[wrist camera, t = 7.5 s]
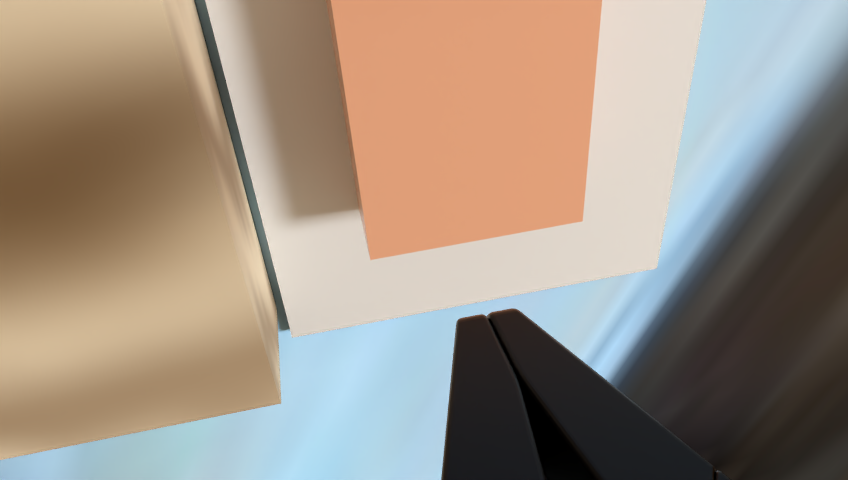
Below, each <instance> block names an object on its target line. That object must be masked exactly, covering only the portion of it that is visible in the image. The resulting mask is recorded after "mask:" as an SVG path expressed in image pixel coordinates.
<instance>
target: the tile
mask: <svg viewBox="0 0 848 480" xmlns="http://www.w3.org/2000/svg"><path fill="white" fill-rule="evenodd" d="M326 3H327V10H328V16H329V23H330V29H331V35H332V42H333V48H334V54H335V61H336V67H337V74H338V80H339V86H340V93H341V99H342V106H343V112H344V118H345V125H346V131H347V138H348V144H349V150H350V157H351V163H352V170H353V176H354V182H355V189H356V195H357V202H358V208H359V213H360V217H361V221H362V226H363V230H364V235H365V239H366V243H367V248H368V252H369V256H370V260H374V259H379V258H385V257H390V256H396V255H401V254H407V253H412V252H418V251H423V250H429V249H434V248H440V247H445V246H451V245H456V244H461V243H467V242H472V241H478V240H483V239H489V238H494V237H500V236H505V235H511V234H516V233H522V232H527V231H533V230H538V229H543V228H549V227H554V226H560V225H565V224H571V223H576V222H582V221H583V212H584V201H585V190H586V178H587V167H588V156H589V144H590V133H591V122H592V110H593V99H594V88H595V76H596V65H597V54H598V42H599V31H600V20H601V8H602V0H326Z"/></svg>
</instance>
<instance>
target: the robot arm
mask: <svg viewBox="0 0 848 480" xmlns="http://www.w3.org/2000/svg"><path fill="white" fill-rule="evenodd" d="M441 480H731V479H730V478H729V477H727V476H726V475H725V474H724V473H722V472H721V471H716V472H715V467H714V466H713V465H712V464H711V463H709V462H708V461H707V460H706V459H704V458H703V457H702V456H701V455H699V454H698V453H697V452H696V451H694V450H693V449H692V448H691V447H689V446H688V445H687V444H686V443H684V442H683V441H682V440H681V439H679V438H678V437H677V436H676V435H674V434H673V433H672V432H671V431H669V430H668V429H667V428H666V427H664V426H663V425H662V424H661V423H659V422H658V421H657V420H656V419H654V418H653V417H652V416H651V415H649V414H648V413H647V412H646V411H644V410H643V409H642V408H641V407H639V406H638V405H637V404H636V403H634V402H633V401H632V400H631V399H629V398H628V397H627V396H626V395H624V394H623V393H622V392H621V391H619V390H618V389H617V388H616V387H614V386H613V385H612V384H611V383H609V382H608V381H607V380H606V379H604V378H603V377H602V376H600V375H599V374H598V373H597V372H595V371H594V370H593V369H592V368H590V367H589V366H588V365H587V364H585V363H584V362H583V361H582V360H580V359H579V358H578V357H577V356H575V355H574V354H573V353H572V352H570V351H569V350H568V349H567V348H565V347H564V346H563V345H562V344H560V343H559V342H558V341H557V340H555V339H554V338H553V337H552V336H550V335H549V334H548V333H547V332H545V331H544V330H543V329H542V328H540V327H539V326H538V325H537V324H535V323H534V322H533V321H532V320H530V319H529V318H528V317H527V316H525V315H524V314H523V313H522V312H520V311H519V310H517V309H507V310H502V311H496V312H491V313H490V314H488V315H487V317H486V316H485V315H483V314H480V315H475V316H470V317H465V318H460V319H459V320H458V321H457V323H456V332H455V342H454V353H453V363H452V374H451V384H450V394H449V405H448V415H447V425H446V436H445V446H444V457H443V467H442V477H441Z"/></svg>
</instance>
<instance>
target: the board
mask: <svg viewBox="0 0 848 480" xmlns="http://www.w3.org/2000/svg"><path fill="white" fill-rule="evenodd" d="M280 403H281V390H280V368H279V345H278V323H277V308H276V304H275V300H274V297H273V293H272V289H271V286H270V282H269V278H268V274H267V271H266V267H265V263H264V259H263V256H262V252H261V248H260V244H259V241H258V237H257V233H256V229H255V226H254V222H253V218H252V215H251V211H250V207H249V203H248V200H247V196H246V192H245V188H244V185H243V181H242V177H241V173H240V170H239V166H238V162H237V158H236V155H235V151H234V147H233V144H232V140H231V136H230V132H229V129H228V125H227V121H226V117H225V114H224V110H223V106H222V102H221V99H220V95H219V91H218V88H217V84H216V80H215V76H214V73H213V69H212V65H211V61H210V58H209V54H208V50H207V46H206V43H205V39H204V35H203V31H202V28H201V24H200V20H199V17H198V13H197V9H196V5H195V2H194V0H0V460H2V459H7V458H12V457H17V456H22V455H27V454H32V453H37V452H42V451H47V450H52V449H57V448H62V447H67V446H72V445H77V444H82V443H87V442H92V441H97V440H102V439H107V438H112V437H116V436H121V435H126V434H131V433H136V432H141V431H146V430H151V429H156V428H161V427H166V426H171V425H176V424H181V423H186V422H191V421H196V420H201V419H206V418H211V417H216V416H221V415H226V414H231V413H236V412H241V411H245V410H250V409H255V408H260V407H265V406H270V405H275V404H280Z"/></svg>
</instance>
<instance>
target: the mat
mask: <svg viewBox="0 0 848 480" xmlns="http://www.w3.org/2000/svg"><path fill="white" fill-rule="evenodd" d="M205 2H206V6H207V9H208V13H209V17H210V21H211V25H212V29H213V33H214V37H215V40H216V44H217V48H218V52H219V56H220V60H221V64H222V68H223V71H224V75H225V79H226V83H227V87H228V91H229V95H230V99H231V102H232V106H233V110H234V114H235V118H236V122H237V126H238V130H239V134H240V137H241V141H242V145H243V149H244V153H245V157H246V161H247V165H248V168H249V172H250V176H251V180H252V184H253V188H254V192H255V196H256V199H257V203H258V207H259V211H260V215H261V219H262V223H263V227H264V230H265V234H266V238H267V242H268V246H269V250H270V254H271V258H272V261H273V265H274V269H275V273H276V277H277V281H278V285H279V289H280V292H281V296H282V300H283V304H284V308H285V312H286V316H287V320H288V323H289V327H290V331H291V335H292V338H293V337H298V336H304V335H309V334H314V333H319V332H325V331H330V330H335V329H340V328H346V327H351V326H356V325H361V324H367V323H372V322H377V321H383V320H388V319H393V318H398V317H404V316H409V315H414V314H419V313H425V312H430V311H435V310H440V309H446V308H451V307H456V306H461V305H467V304H472V303H477V302H482V301H488V300H493V299H498V298H504V297H509V296H514V295H519V294H525V293H530V292H535V291H540V290H546V289H551V288H556V287H561V286H567V285H572V284H577V283H582V282H588V281H593V280H598V279H604V278H609V277H614V276H619V275H625V274H630V273H635V272H640V271H646V270H651V269H656V268H657V264H658V258H659V253H660V247H661V242H662V237H663V231H664V226H665V220H666V215H667V210H668V204H669V199H670V193H671V188H672V183H673V177H674V172H675V167H676V161H677V156H678V150H679V145H680V140H681V134H682V129H683V123H684V118H685V113H686V107H687V102H688V96H689V91H690V86H691V80H692V75H693V69H694V64H695V59H696V53H697V48H698V42H699V37H700V32H701V26H702V21H703V15H704V10H705V5H706V0H602V8H601V20H600V31H599V42H598V54H597V65H596V76H595V88H594V99H593V110H592V122H591V133H590V144H589V156H588V167H587V178H586V190H585V201H584V212H583V221H582V222H576V223H571V224H565V225H560V226H554V227H549V228H543V229H538V230H533V231H527V232H522V233H516V234H511V235H505V236H500V237H494V238H489V239H483V240H478V241H472V242H467V243H461V244H456V245H451V246H445V247H440V248H434V249H429V250H423V251H418V252H412V253H407V254H401V255H396V256H390V257H385V258H379V259H374V260H370V256H369V252H368V248H367V243H366V239H365V235H364V230H363V226H362V221H361V217H360V213H359V208H358V202H357V195H356V189H355V182H354V176H353V170H352V163H351V157H350V150H349V144H348V138H347V131H346V125H345V118H344V112H343V106H342V99H341V93H340V86H339V80H338V74H337V67H336V61H335V54H334V48H333V42H332V35H331V29H330V23H329V16H328V10H327V3H326V0H205Z"/></svg>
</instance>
